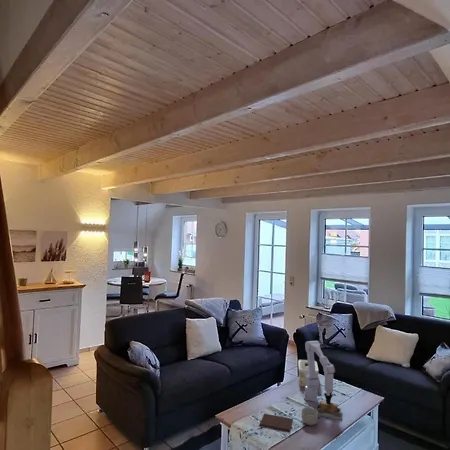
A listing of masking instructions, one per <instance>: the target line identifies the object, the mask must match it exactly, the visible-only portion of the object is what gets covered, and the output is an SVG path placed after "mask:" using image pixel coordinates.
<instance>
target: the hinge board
mask: <svg viewBox="0 0 450 450" xmlns="http://www.w3.org/2000/svg"><path fill="white" fill-rule="evenodd" d="M315 409H316V410H317V411H318V416H319V417H326V418H330V419H331V418H332V419H335V420H342V419H343V417H342V416H343V411H342V408H341V407H338V412H334V415H333V414H328V413H323V412H322V409H320V403H317V404H316V406H315Z"/></svg>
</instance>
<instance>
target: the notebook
mask: <svg viewBox="0 0 450 450" xmlns="http://www.w3.org/2000/svg"><path fill="white" fill-rule="evenodd" d="M293 419H294V418H290V417H285V416H280V415H275V414H269V413H263V415H262V418H261V420H260V422H259V427H262V426H263V427H262V428H267V427H268V428H267V429H272V428H273V429H272V430H277V429H278V431H282V430H283V431H282V432H287V433H288V432H289V433H290V432H291V427H292V423H293V421H294V420H293Z"/></svg>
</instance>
